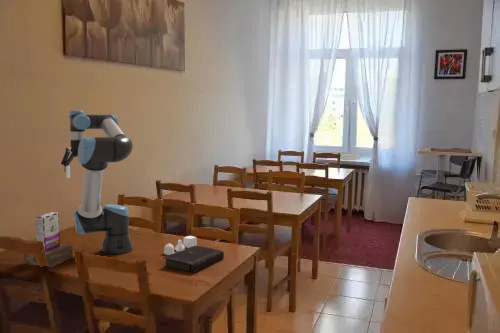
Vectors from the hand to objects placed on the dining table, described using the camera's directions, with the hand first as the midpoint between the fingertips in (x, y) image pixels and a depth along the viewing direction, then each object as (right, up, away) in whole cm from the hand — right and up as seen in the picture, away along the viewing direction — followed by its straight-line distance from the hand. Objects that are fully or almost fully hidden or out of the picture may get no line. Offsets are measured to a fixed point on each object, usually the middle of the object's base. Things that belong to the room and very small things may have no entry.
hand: (78, 178), depth 257 cm
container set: (+56, -37, -11) cm, 68 cm away
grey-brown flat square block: (-3, -38, -32) cm, 50 cm away
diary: (+66, -40, -32) cm, 83 cm away
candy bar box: (-3, -32, -32) cm, 46 cm away
